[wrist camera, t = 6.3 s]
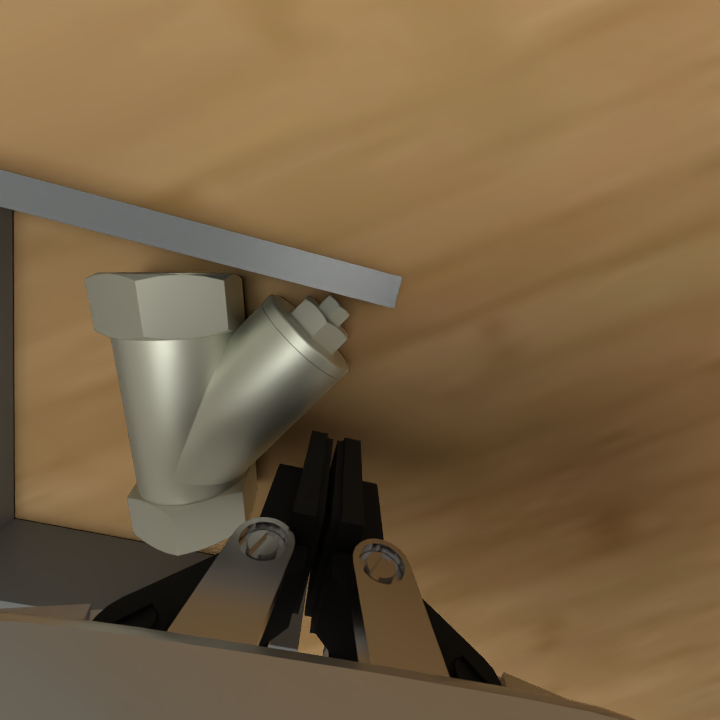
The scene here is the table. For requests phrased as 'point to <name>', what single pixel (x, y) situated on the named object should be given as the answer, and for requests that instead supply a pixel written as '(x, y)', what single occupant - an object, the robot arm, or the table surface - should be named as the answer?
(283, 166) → the table surface
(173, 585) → the robot arm
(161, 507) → the pipe fitting
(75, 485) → the table surface
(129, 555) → the gray u-shaped frame
